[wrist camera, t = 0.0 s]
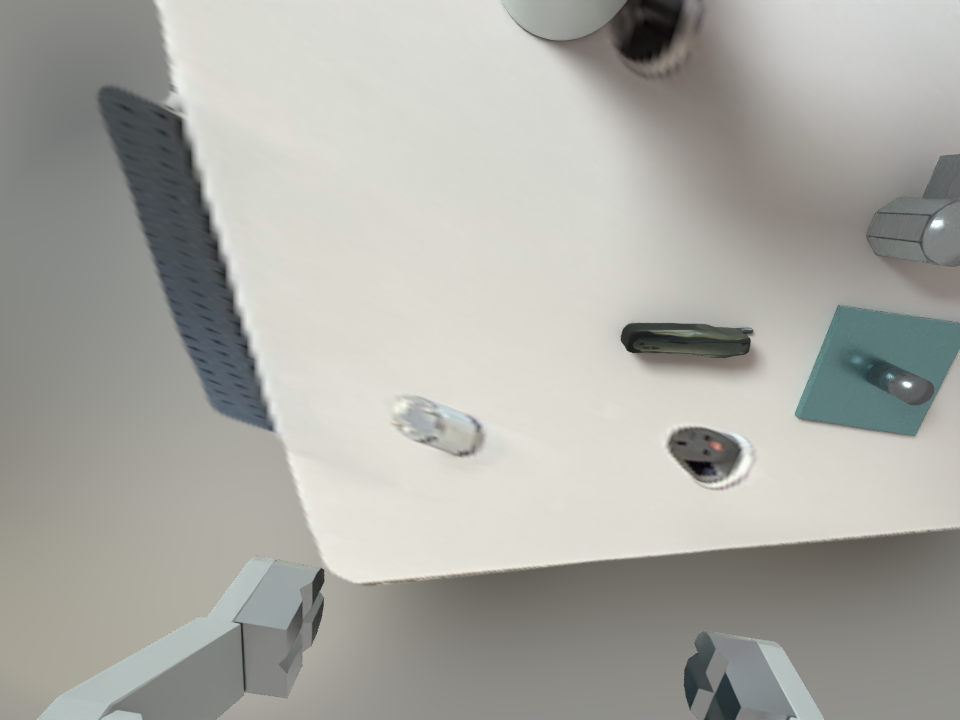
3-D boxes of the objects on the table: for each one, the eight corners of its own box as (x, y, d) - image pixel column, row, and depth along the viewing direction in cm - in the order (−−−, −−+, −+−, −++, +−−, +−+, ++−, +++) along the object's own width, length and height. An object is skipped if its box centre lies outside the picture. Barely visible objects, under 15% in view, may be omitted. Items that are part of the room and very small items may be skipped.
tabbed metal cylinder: (898, 156, 48) (964, 149, 41) (957, 164, 48) (1033, 159, 41) (859, 252, 52) (914, 261, 45) (914, 260, 52) (978, 270, 44)
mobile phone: (626, 357, 53) (767, 360, 51) (629, 332, 52) (772, 333, 50) (619, 344, 58) (747, 346, 56) (621, 320, 57) (752, 321, 55)
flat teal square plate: (838, 305, 54) (879, 319, 48) (962, 323, 53) (1020, 340, 47) (794, 414, 58) (826, 440, 52) (908, 431, 58) (954, 459, 52)
